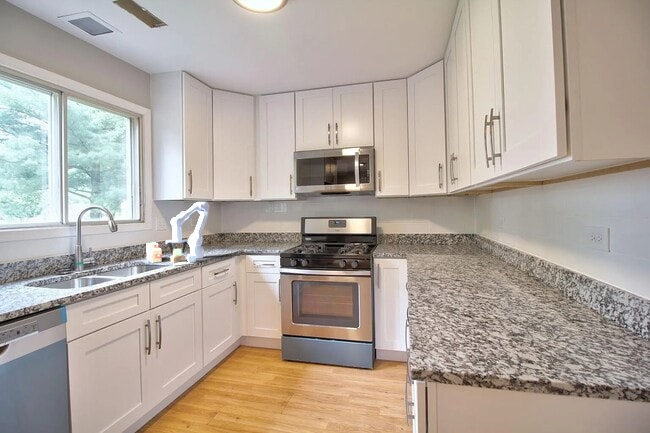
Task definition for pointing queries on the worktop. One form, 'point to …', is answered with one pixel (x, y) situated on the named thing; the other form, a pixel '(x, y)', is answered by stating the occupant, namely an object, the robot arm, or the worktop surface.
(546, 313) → the worktop surface
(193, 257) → the dusty blue block
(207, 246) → the worktop surface
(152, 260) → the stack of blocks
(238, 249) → the worktop surface
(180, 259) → the walnut base block
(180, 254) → the sage block
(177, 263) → the plaque
